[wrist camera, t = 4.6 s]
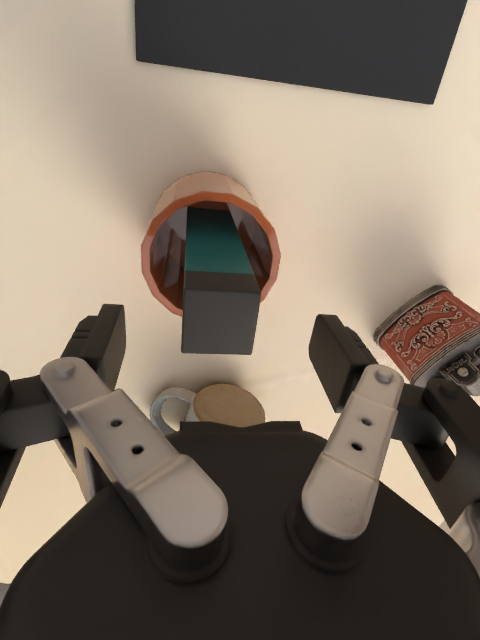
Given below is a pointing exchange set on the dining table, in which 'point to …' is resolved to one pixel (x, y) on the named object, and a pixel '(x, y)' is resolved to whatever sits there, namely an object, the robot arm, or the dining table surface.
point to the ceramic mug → (212, 406)
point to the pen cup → (170, 234)
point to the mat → (307, 41)
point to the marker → (217, 287)
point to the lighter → (434, 339)
